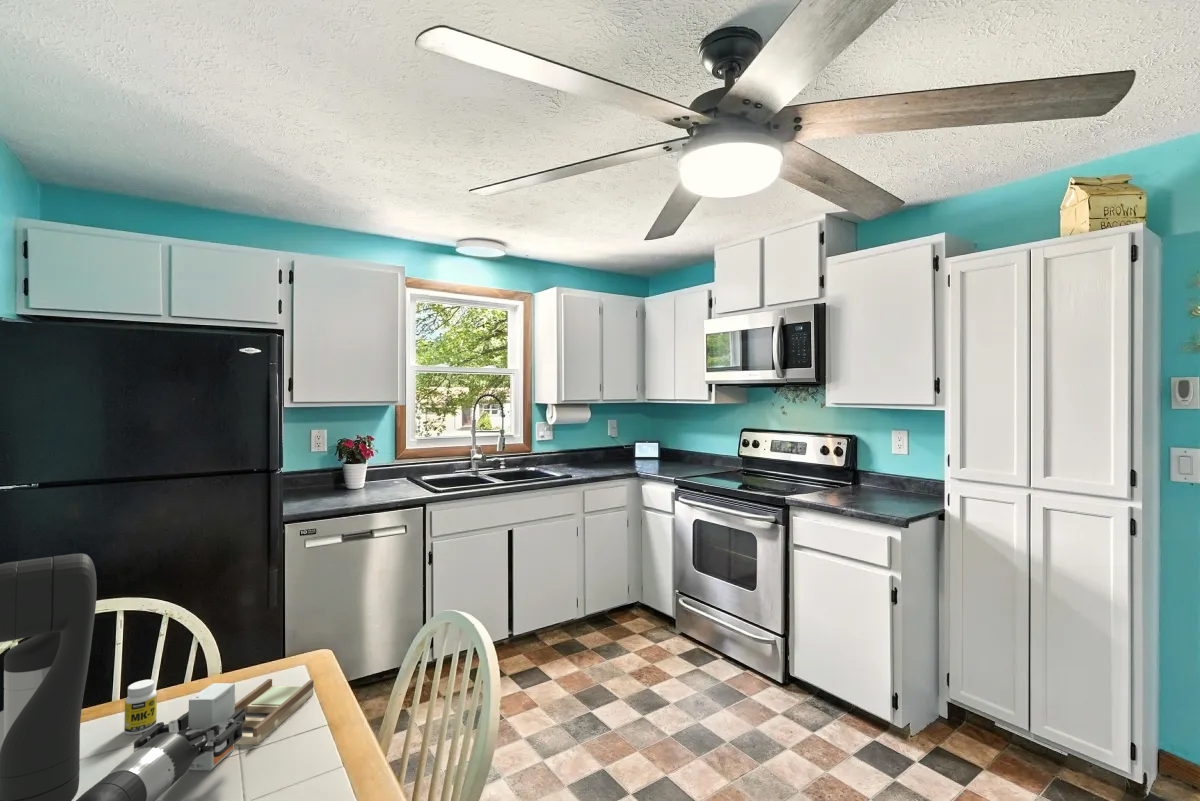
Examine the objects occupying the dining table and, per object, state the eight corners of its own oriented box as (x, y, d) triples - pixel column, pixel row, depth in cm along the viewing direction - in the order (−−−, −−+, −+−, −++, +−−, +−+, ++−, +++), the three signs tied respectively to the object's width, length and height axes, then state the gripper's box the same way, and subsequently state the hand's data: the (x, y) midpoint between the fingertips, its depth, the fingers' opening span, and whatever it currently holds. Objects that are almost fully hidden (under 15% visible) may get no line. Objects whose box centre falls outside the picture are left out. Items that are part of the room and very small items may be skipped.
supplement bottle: (128, 738, 104) (128, 693, 104) (121, 729, 107) (121, 685, 107) (160, 726, 108) (160, 682, 108) (152, 718, 111) (152, 675, 111)
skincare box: (211, 771, 95) (212, 700, 95) (186, 771, 95) (187, 700, 95) (235, 749, 101) (235, 682, 101) (212, 749, 101) (212, 682, 101)
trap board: (204, 743, 103) (204, 726, 103) (268, 692, 120) (268, 678, 121) (256, 745, 102) (257, 728, 102) (313, 694, 120) (313, 680, 120)
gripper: (195, 747, 83) (259, 692, 100) (98, 749, 83) (177, 693, 99) (195, 798, 83) (259, 734, 100) (97, 800, 83) (177, 736, 99)
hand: (218, 714), depth 99 cm, fingers open, 8 cm apart
